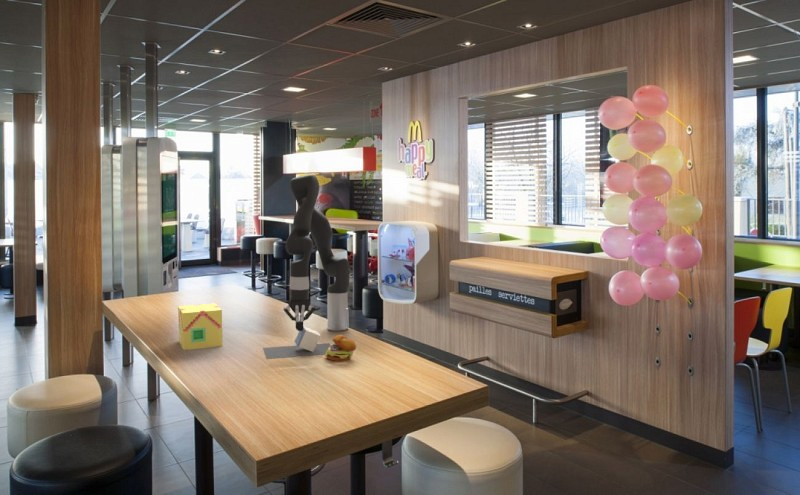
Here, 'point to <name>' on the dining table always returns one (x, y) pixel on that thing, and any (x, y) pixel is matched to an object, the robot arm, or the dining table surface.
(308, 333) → the cream cube
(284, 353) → the rubber mat
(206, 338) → the toy block
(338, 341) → the cheeseburger
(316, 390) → the dining table surface
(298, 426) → the dining table surface
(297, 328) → the robot arm
